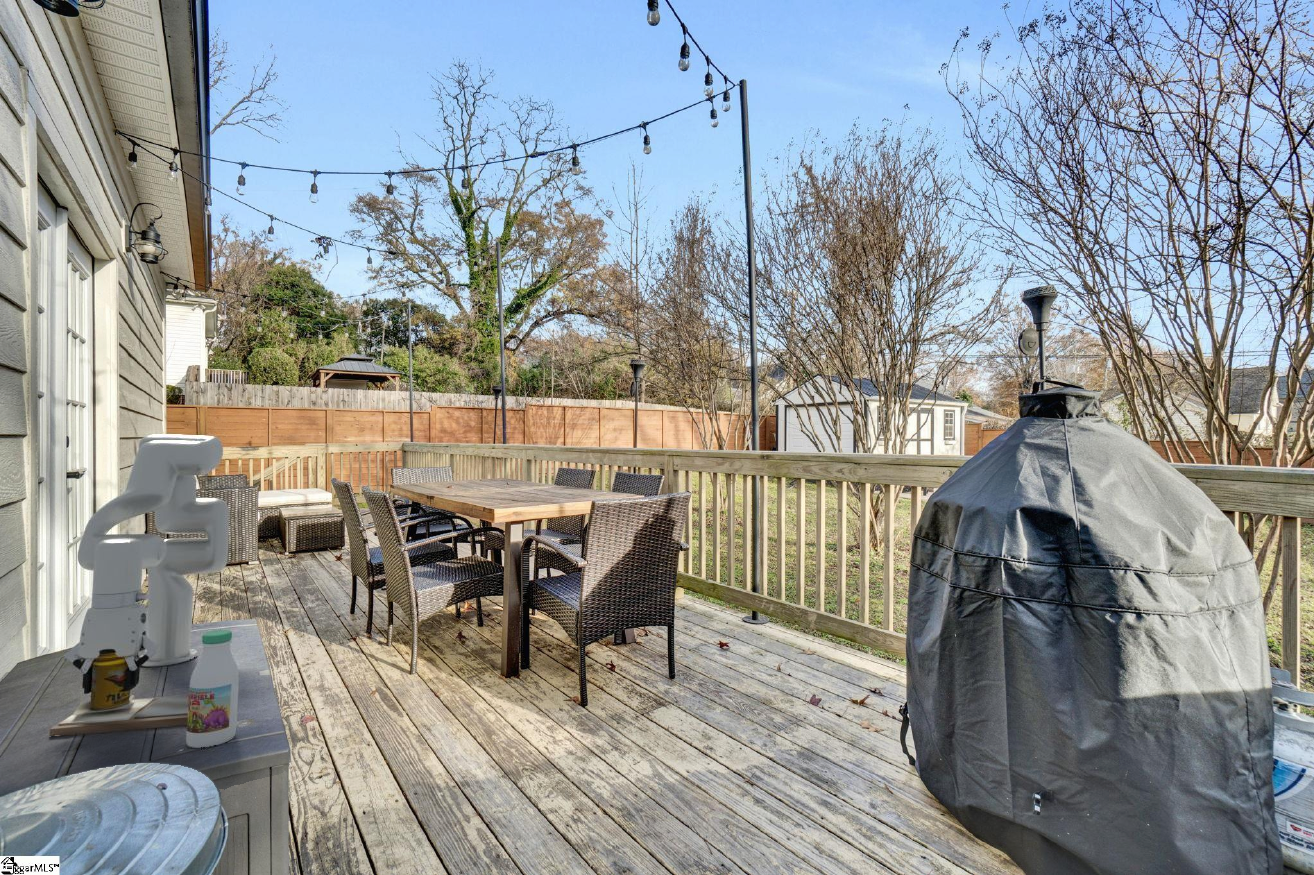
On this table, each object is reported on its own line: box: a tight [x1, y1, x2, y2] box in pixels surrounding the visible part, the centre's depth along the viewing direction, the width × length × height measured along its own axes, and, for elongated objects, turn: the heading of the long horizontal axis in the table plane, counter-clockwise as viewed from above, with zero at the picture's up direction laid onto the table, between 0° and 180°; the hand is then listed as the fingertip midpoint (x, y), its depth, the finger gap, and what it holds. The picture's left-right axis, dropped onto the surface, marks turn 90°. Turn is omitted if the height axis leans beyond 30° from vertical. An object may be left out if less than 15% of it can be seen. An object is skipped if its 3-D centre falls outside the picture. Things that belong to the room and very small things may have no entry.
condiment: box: [71, 649, 135, 716], centre depth 125 cm, size 7×8×12 cm
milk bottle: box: [185, 629, 240, 749], centre depth 117 cm, size 8×8×20 cm
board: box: [49, 694, 189, 737], centre depth 127 cm, size 14×24×2 cm, turn 108°
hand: (110, 689), depth 125 cm, fingers closed on condiment, 6 cm apart
